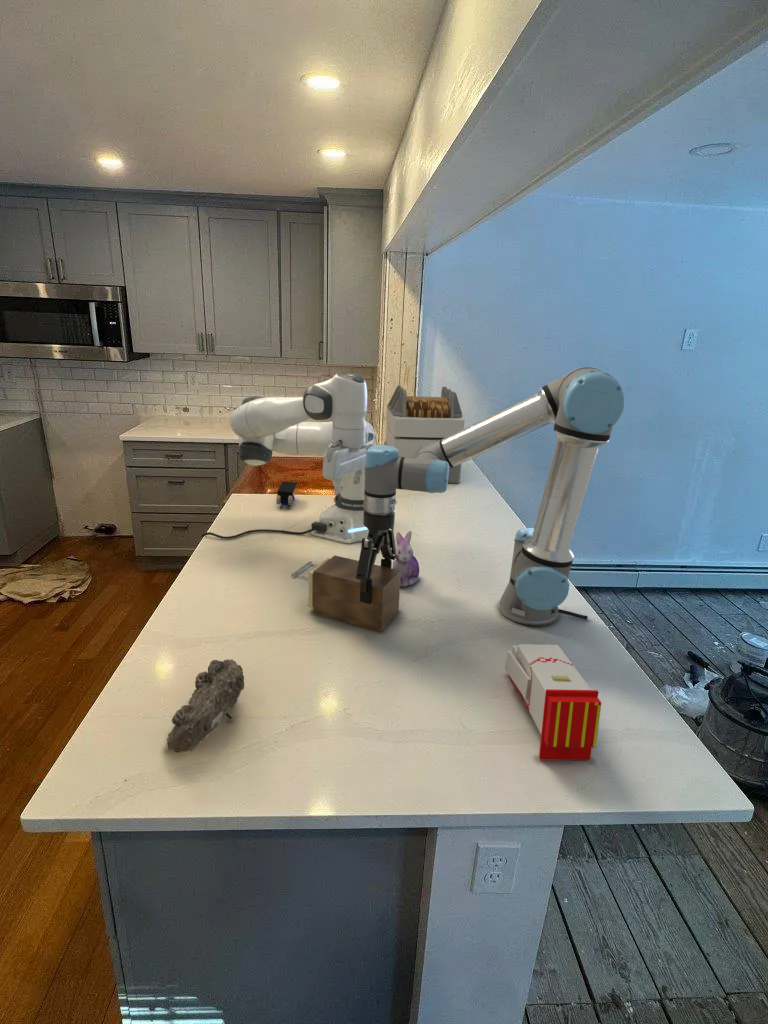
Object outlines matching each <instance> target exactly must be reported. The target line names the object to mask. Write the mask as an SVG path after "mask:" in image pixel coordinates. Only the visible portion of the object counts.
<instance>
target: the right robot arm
mask: <svg viewBox="0 0 768 1024" xmlns="http://www.w3.org/2000/svg"><path fill="white" fill-rule="evenodd" d="M625 406H626V398H625V392H624V390H623V388H622V386H621V384H620V382H619V381H618V380H617V379H616V378H615V377H613V375H611V374H609V373H607V372H604V371H603V370H600V369H599V368H597V367H596V368H595V367H591V366H581V367H578V368H575V369H573V370H570V371H569V372H567V373H566V374H564V375H562V376H560V377H559V378H556V379H555V380H553V381H551V382H549V383H547V384H546V385H543V386H542V387H540V388H539V390H538V392H537V393H536V394H534V395H532V396H529V397H528V398H526V399H524V400H522V401H520V402H518V403H515V404H513V405H512V406H509V407H507V408H505V409H503V410H500V411H498V412H496V413H494V414H493V415H490V416H488V417H486V418H484V419H482V420H480V421H477V422H475V423H473V424H471V425H469V426H467V427H464V429H463V430H461V431H458V432H456V433H454V434H452V435H450V436H448V437H446V438H444V439H442V440H440V441H437V442H435V443H431V444H426V445H424V446H423V447H421V448H420V449H419V450H418V451H417V453H416V455H415V458H406V457H400V456H399V454H398V450H397V448H395V447H393V446H388V445H384V444H376V445H375V444H374V446H371V447H369V448H368V449H367V451H366V462H365V490H364V509H365V511H364V513H363V525H364V526H365V527H366V528H367V529H368V530H369V532H368V536H367V539H366V538H362V541H360V542H361V543H360V544H361V546H360V553H359V557H358V558H359V559H358V561H359V563H358V568H357V574H356V579H358V580H361V582H360V602H363V603H367V604H371V594H372V579H371V574H372V571H373V567H374V564H375V563H376V560H377V556H378V554H380V553H381V556H382V558H381V559H380V566H383V567H388V568H392V566H393V561H395V560H396V556H394V555H395V554H396V540H395V528H394V527H395V518H396V517H395V516H396V512H395V510H396V504H397V503H398V500H397V499H396V494H397V490H403V491H413V492H422V493H429V494H444V493H445V492H447V489H448V485H449V483H448V478H449V469H451V468H453V467H455V466H457V465H459V464H461V465H462V464H463V463H465V462H467V461H470V460H472V459H474V458H477V457H479V456H481V455H483V454H485V453H488V452H490V451H492V450H495V449H497V448H499V447H501V446H503V445H506V444H508V443H510V442H512V441H514V440H517V439H519V438H521V437H524V436H525V435H527V434H529V433H532V432H534V431H537V430H539V429H541V428H543V427H545V426H549V425H550V424H551V425H553V429H552V430H553V432H554V434H555V436H556V437H557V442H556V446H555V449H554V453H553V457H552V460H551V465H550V467H549V472H548V476H547V480H546V483H545V486H544V489H543V490H544V491H543V493H542V497H541V502H540V505H539V509H538V514H537V517H536V520H535V523H534V527H525V528H520V529H518V530H517V531H516V533H515V537H514V539H513V541H514V544H513V552H512V558H511V559H512V560H511V566H510V573H509V574H510V576H509V582H508V584H507V585H506V588H505V590H504V592H503V593H502V595H501V597H500V600H499V604H498V605H499V606H498V608H499V609H498V610H499V611H500V613H501V614H502V615H503V616H504V617H505V618H507V619H509V620H510V621H511V622H515V623H517V624H521V625H525V626H530V627H531V626H532V627H543V626H548V625H551V624H553V623H555V621H557V619H558V616H559V614H562V615H567V616H571V617H574V618H577V619H581V620H588V617H589V616H588V615H585V614H580V613H576V612H572V611H569V610H566V609H561V608H559V606H560V605H562V604H563V603H564V602H565V601H566V600H567V598H568V595H569V591H570V583H569V580H568V579H569V575H570V573H571V572H570V571H571V568H572V565H573V562H574V558H575V555H574V552H573V551H572V549H571V547H570V546H571V543H572V541H573V536H574V533H575V530H576V526H577V523H578V521H579V520H578V519H579V516H580V513H581V509H582V506H583V502H584V500H585V497H586V493H587V489H588V486H589V482H590V480H591V475H592V473H593V469H594V466H595V463H596V459H597V456H598V452H599V449H600V448H601V447H603V446H604V445H606V444H607V443H609V441H610V439H611V434H612V432H613V429H614V426H615V425H616V424H617V423H618V422H619V420H620V419H621V417H622V416H623V414H624V410H625Z"/></svg>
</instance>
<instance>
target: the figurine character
mask: <svg viewBox="0 0 768 1024" xmlns="http://www.w3.org/2000/svg"><path fill="white" fill-rule="evenodd" d="M297 484H298V482H296V481H295V482H294V481H284V480H283V481H281V483H280V485H279V487H278V489H277V494H276V498H275V499H276V500H275V503H276V505H279V508H280V509H283V506H285V507H287V509H290V508H291V506H292V505H293V503H294V502H295V501H296V497H295V496H296V492H295V489H296V488H297Z"/></svg>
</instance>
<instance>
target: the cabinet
mask: <svg viewBox="0 0 768 1024" xmlns="http://www.w3.org/2000/svg"><path fill="white" fill-rule="evenodd" d="M358 563H359V560H357V559H353V558H349V557H345V556H341V555H335V554H334V555H333V556H332V557H330V558H329V560H328V561H326V562H325V563H324V564H322V565H321V566H320V567H318V568H317V569H316V570H314V571H313V604H314V607H313V614H314V615H318V616H322V617H325V618H330V619H333V620H335V621H336V620H337V621H340V622H343V623H347V624H350V625H354V626H358V627H362V628H365V629H369V630H373V631H377V632H380V633H382V632H383V630H385V628H386V627H387V626H388V625H389V624H390V623H391V621H392V620H393V619H394V618H395V617H396V616H397V614H398V613H399V611H400V596H401V593H400V592H401V586H400V579H401V570H396V569H393V567H391V568H388V567H383V566H381V565H378V564H375V563H374V567H373V571H372V574H371V579H372V594H371V604H367V603H363V602H360V582H361V580H358V579H356V574H357V568H358Z"/></svg>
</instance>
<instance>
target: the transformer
mask: <svg viewBox="0 0 768 1024" xmlns="http://www.w3.org/2000/svg"><path fill="white" fill-rule="evenodd" d="M440 393H441V394H440V396H415V395H414V396H413V395H412V396H411V395H407V394H408V393H407V390H406V389H404V388H403V387H402V385H399V384H398V385H397V386H396V388H395V390H394V392H393V394H392V395H391V398H390V400H389V402H388V404H387V405H386V413H385V414H386V415H385V423H386V428H385V438H384V442H383V445H388V446H393V447H395V448H397V450H398V454H399V456H400V457H406V458H415V455H416V453H417V451H418V450H419V449H420V448H421V447H423V446H424V445H426V444H431V443H435V442H437V441H440V440H442V439H444V438H446V437H448V436H450V435H452V434H454V433H456V432H458V431H461V430H463V429H465V419H464V418H463V411H462V408H461V405H460V402H459V398H458V395H457V392H455V391H453V390H452V389H451V388H447V386H442V387H441V392H440ZM461 472H462V463H461V464H459V465H457V466H455V467H453V468H451V469H449V478H448V484H455V483H456V484H459V483H461Z"/></svg>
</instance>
